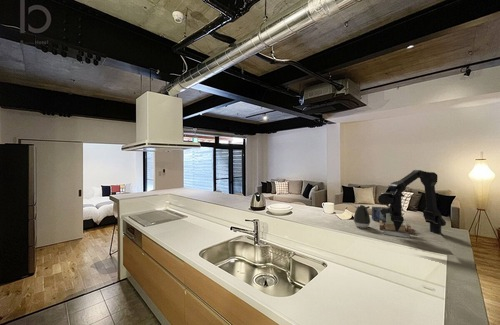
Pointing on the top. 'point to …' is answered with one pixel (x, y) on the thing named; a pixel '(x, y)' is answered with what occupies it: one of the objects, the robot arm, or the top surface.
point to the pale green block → (389, 219)
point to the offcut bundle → (391, 227)
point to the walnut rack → (395, 230)
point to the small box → (378, 214)
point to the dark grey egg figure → (362, 217)
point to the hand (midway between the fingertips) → (396, 229)
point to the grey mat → (396, 234)
